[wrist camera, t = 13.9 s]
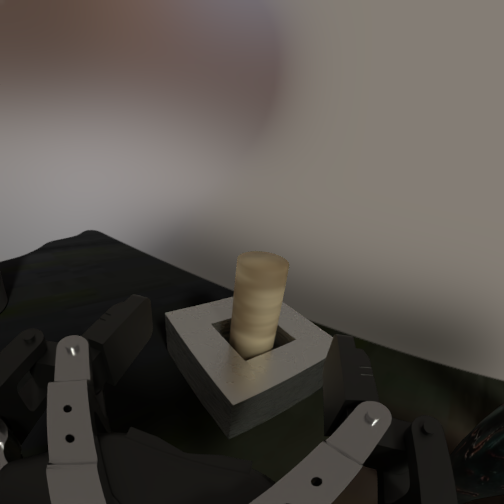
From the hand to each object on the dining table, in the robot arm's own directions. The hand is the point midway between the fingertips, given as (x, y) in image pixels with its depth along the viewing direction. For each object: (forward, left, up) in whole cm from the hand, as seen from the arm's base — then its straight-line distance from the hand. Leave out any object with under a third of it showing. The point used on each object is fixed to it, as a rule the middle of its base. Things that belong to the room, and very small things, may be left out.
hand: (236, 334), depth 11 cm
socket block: (-8, +8, -13) cm, 17 cm away
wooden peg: (-8, +7, -13) cm, 17 cm away
